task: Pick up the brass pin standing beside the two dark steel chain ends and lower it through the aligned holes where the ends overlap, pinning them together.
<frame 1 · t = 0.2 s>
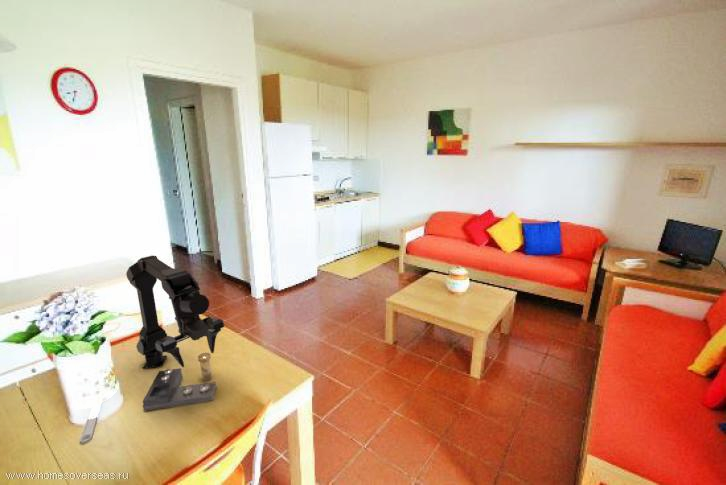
hand: (198, 359, 107), 15 cm above the table, tool pointing down, fingers open, 9 cm apart
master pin: (207, 378, 121), on the table
chain ends: (161, 401, 110), on the table
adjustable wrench: (93, 415, 106), on the table
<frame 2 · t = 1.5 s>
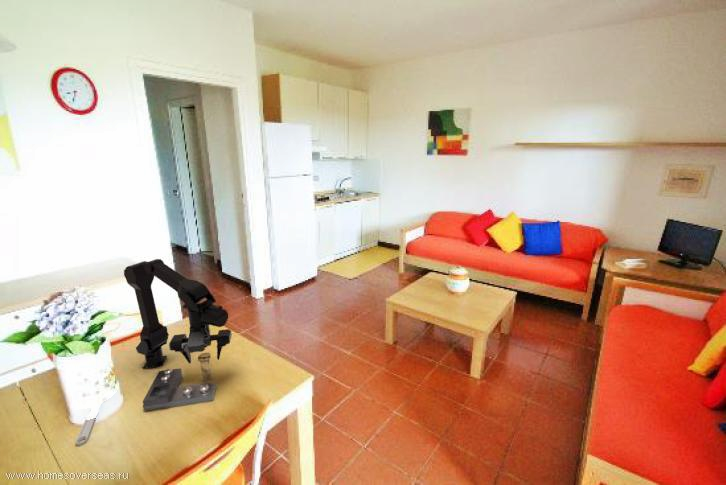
hand: (204, 361, 120), 7 cm above the table, tool pointing down, fingers open, 9 cm apart
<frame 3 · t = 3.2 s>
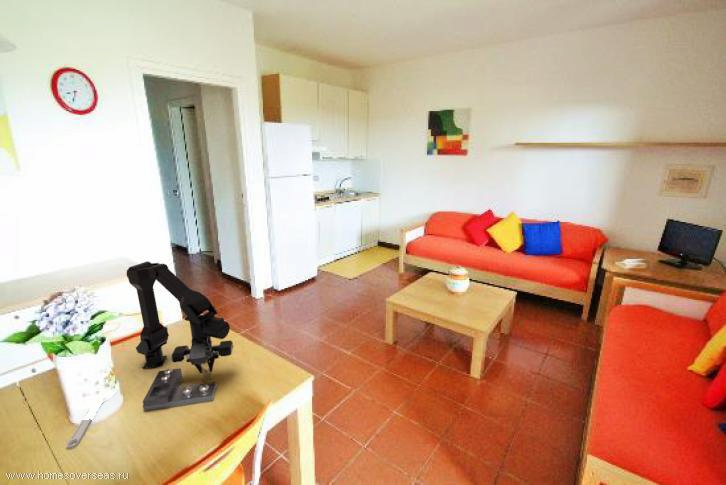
hand: (206, 372, 121), 3 cm above the table, tool pointing down, fingers closed on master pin, 3 cm apart
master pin: (207, 378, 121), on the table, touching gripper
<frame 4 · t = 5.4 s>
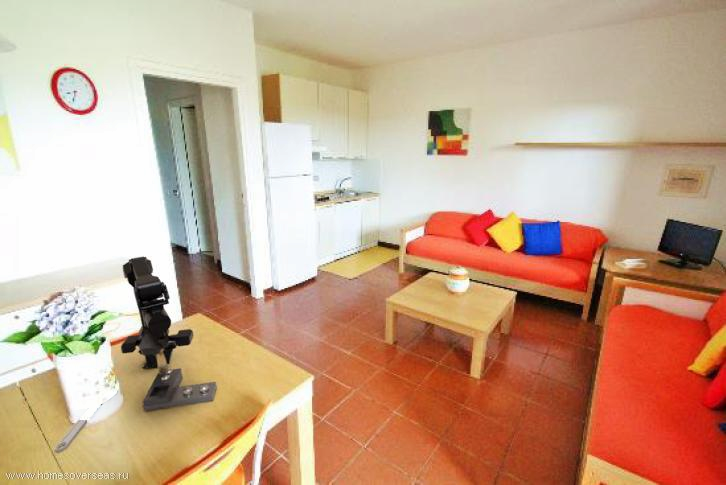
hand: (162, 364, 109), 13 cm above the table, tool pointing down, fingers closed on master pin, 3 cm apart
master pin: (164, 371, 109), point 10 cm above the table, touching gripper
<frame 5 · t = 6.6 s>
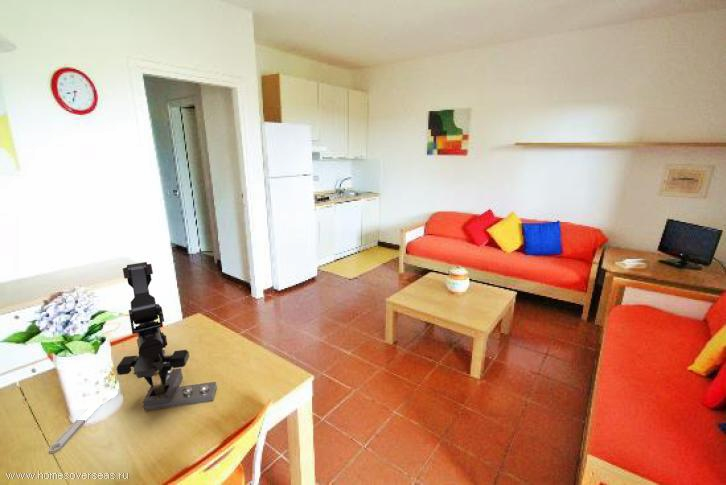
hand: (158, 384, 109), 6 cm above the table, tool pointing down, fingers closed on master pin, 3 cm apart
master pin: (159, 391, 109), point 4 cm above the table, touching gripper
when the fingers open (5 cm above the table, at t = 7.7 s): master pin drops 2 cm, resting in chain ends.
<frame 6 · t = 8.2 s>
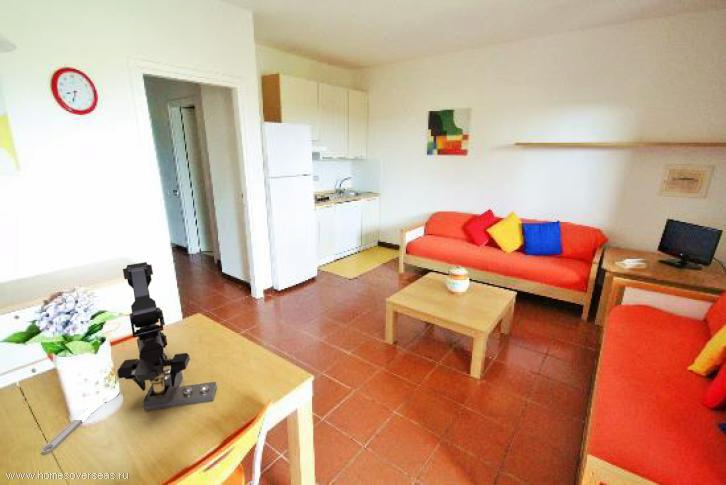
hand: (159, 388, 109), 5 cm above the table, tool pointing down, fingers open, 8 cm apart
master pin: (161, 401, 110), resting in chain ends
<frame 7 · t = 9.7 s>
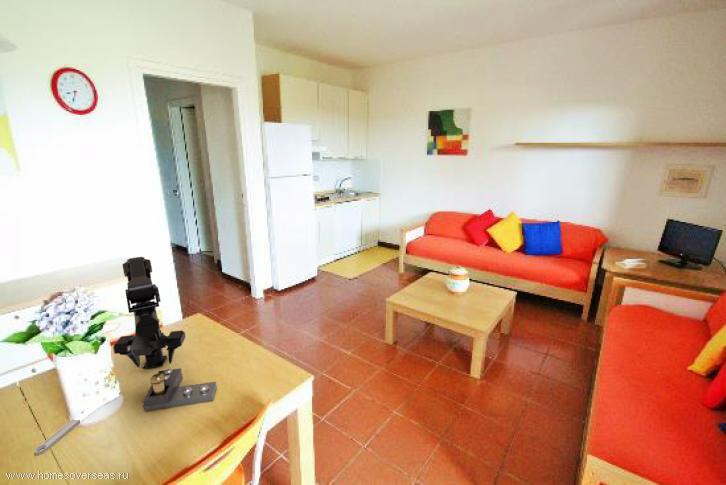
hand: (155, 364, 110), 12 cm above the table, tool pointing down, fingers open, 9 cm apart
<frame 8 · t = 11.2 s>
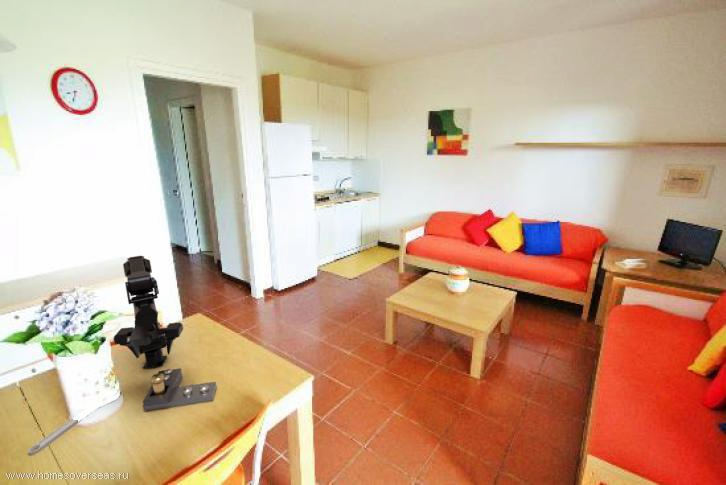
hand: (153, 355, 114), 12 cm above the table, tool pointing down, fingers open, 9 cm apart
at the end: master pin 0.0 cm off-centre on the chain ends, point 0.0 cm above the chain ends's base; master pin tilted 0°; the gripper is holding nothing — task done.
